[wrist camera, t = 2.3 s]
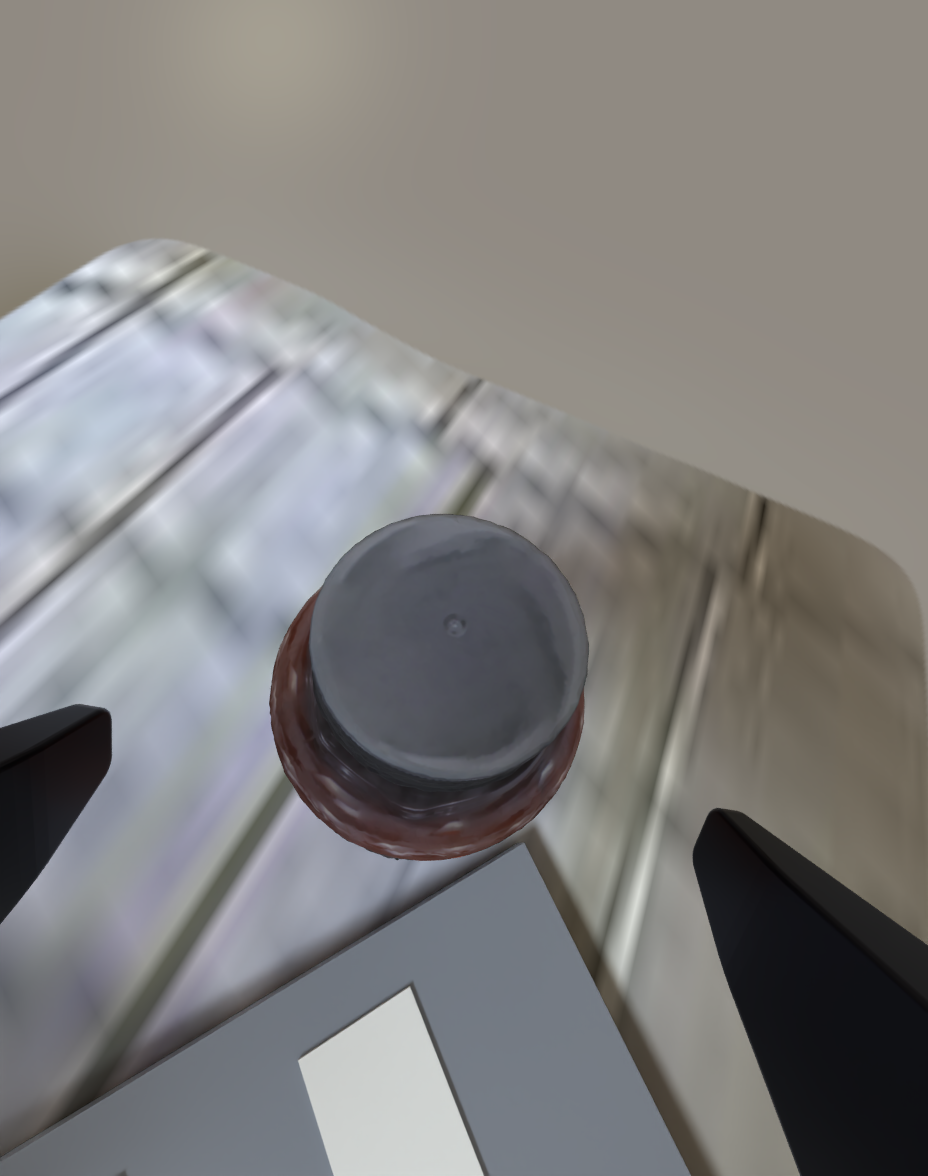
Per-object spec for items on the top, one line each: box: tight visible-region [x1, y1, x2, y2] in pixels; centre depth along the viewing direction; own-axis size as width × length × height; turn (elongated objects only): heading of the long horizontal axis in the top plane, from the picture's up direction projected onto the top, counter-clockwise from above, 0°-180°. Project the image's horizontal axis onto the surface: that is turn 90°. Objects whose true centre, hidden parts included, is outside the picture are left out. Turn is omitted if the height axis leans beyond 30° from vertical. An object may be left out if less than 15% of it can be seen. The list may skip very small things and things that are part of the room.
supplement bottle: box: [269, 514, 589, 861], centre depth 12 cm, size 6×6×11 cm
